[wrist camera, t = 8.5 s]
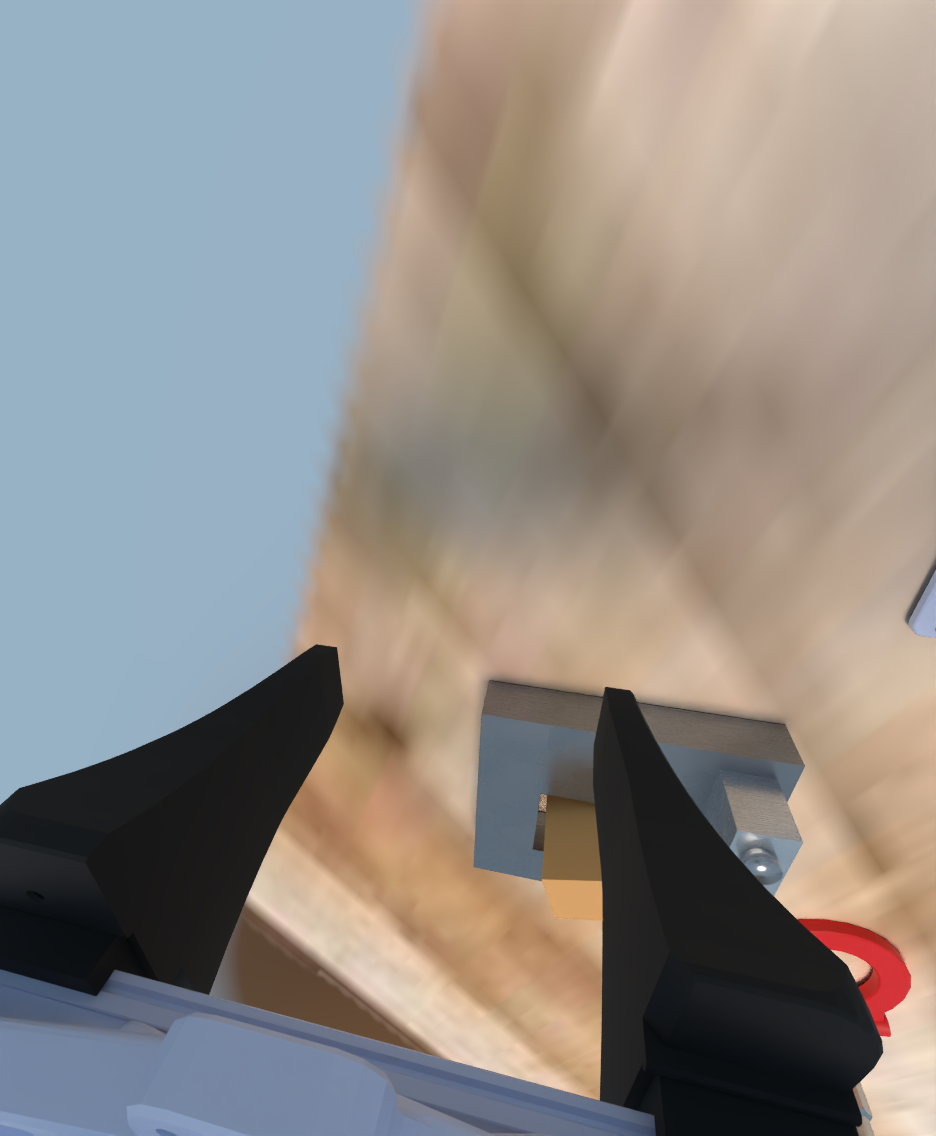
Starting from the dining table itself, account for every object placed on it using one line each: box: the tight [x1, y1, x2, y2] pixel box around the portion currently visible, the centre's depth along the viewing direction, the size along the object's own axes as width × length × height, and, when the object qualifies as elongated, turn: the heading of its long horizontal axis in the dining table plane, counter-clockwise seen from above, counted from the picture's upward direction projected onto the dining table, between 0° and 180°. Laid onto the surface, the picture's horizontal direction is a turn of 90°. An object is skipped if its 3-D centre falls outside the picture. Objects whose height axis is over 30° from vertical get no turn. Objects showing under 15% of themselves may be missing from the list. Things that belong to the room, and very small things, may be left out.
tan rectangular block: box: [542, 795, 603, 921], centre depth 26 cm, size 3×3×6 cm
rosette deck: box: [474, 681, 805, 896], centre depth 25 cm, size 14×12×6 cm
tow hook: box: [798, 919, 911, 1136], centre depth 26 cm, size 9×14×10 cm
